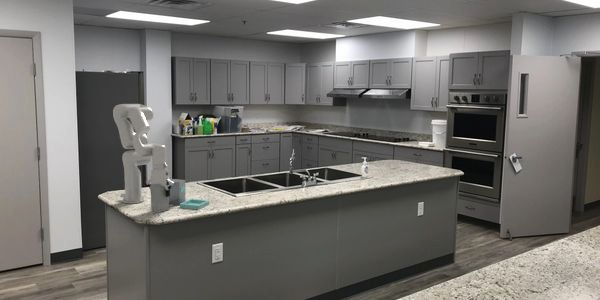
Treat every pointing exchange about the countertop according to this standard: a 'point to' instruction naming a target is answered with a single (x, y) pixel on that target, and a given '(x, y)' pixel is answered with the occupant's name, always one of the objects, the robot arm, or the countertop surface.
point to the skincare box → (159, 199)
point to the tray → (194, 204)
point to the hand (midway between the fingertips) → (160, 196)
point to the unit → (177, 192)
